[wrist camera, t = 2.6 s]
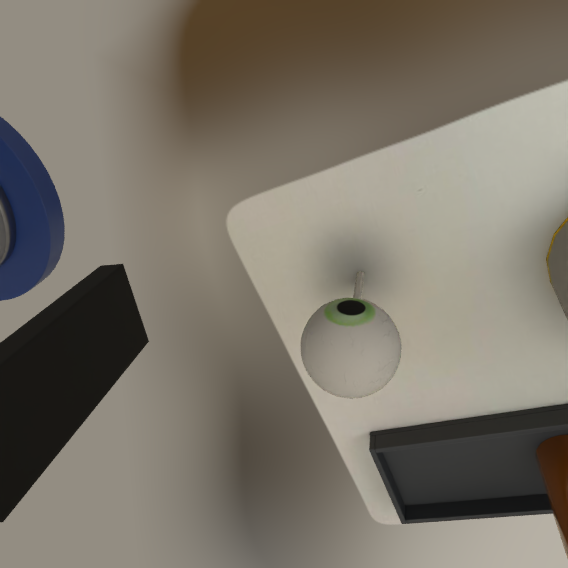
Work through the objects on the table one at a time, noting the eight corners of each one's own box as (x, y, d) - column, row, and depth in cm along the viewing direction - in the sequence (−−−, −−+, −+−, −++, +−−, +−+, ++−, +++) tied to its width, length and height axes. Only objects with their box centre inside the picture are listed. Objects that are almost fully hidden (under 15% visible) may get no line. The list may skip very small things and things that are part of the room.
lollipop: (401, 239, 41) (404, 338, 28) (398, 308, 45) (399, 425, 32) (321, 238, 43) (288, 331, 30) (323, 305, 46) (295, 415, 33)
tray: (401, 504, 57) (401, 524, 55) (370, 432, 53) (369, 450, 50) (794, 471, 44) (815, 495, 42) (798, 370, 40) (822, 391, 37)
